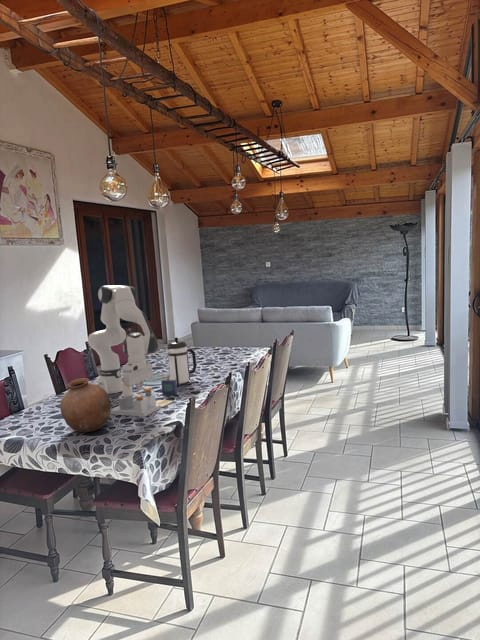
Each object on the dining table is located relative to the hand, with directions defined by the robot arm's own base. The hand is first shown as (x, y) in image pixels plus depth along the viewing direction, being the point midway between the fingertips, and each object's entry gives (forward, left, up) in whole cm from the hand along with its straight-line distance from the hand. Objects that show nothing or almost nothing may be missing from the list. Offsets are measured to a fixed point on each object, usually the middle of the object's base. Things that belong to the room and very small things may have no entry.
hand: (139, 390), depth 247 cm
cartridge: (-10, +2, -10) cm, 14 cm away
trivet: (+1, +15, -12) cm, 19 cm away
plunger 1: (+1, -2, -9) cm, 10 cm away
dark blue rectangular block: (-4, +32, -13) cm, 34 cm away
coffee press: (-10, +55, -13) cm, 57 cm away
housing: (-6, +2, -12) cm, 14 cm away
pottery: (-12, -27, -13) cm, 32 cm away
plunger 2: (+1, +6, -7) cm, 9 cm away
